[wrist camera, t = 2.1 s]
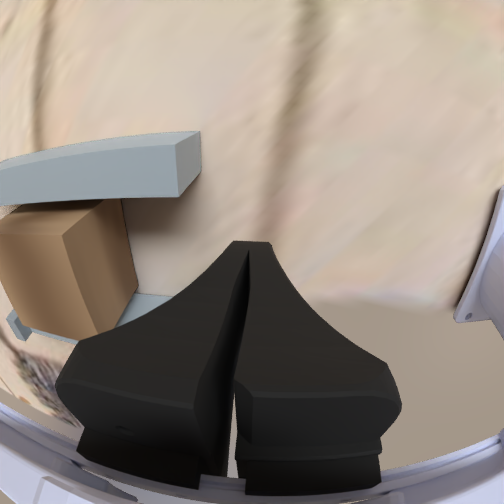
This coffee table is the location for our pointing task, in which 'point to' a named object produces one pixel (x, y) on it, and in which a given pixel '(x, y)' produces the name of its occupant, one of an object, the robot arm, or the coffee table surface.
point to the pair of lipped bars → (103, 185)
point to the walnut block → (67, 265)
